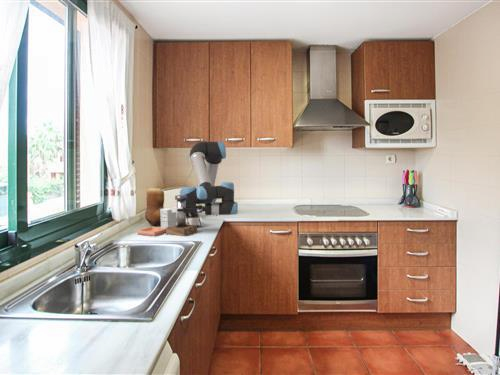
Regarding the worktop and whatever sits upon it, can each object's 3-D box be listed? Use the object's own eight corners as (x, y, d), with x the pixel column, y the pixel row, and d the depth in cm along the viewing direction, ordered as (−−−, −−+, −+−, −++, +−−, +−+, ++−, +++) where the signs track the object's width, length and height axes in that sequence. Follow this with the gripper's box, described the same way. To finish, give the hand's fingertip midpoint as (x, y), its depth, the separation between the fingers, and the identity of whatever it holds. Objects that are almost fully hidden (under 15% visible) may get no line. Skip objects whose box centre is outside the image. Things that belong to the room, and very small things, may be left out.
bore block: (179, 230, 225) (179, 223, 224) (197, 232, 219) (197, 225, 219) (166, 234, 213) (166, 227, 213) (184, 236, 207) (184, 229, 207)
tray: (152, 230, 224) (152, 226, 224) (168, 232, 218) (168, 228, 218) (137, 234, 212) (137, 230, 212) (154, 236, 207) (154, 232, 207)
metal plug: (180, 224, 220) (179, 195, 219) (190, 225, 217) (189, 195, 216) (173, 226, 214) (172, 196, 212) (183, 227, 211) (182, 196, 209)
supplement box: (169, 226, 237) (169, 207, 236) (177, 227, 232) (176, 208, 231) (160, 228, 231) (159, 208, 230) (167, 229, 226) (167, 209, 225)
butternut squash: (170, 224, 243) (169, 187, 241) (156, 228, 232) (154, 189, 230) (155, 222, 250) (154, 186, 248) (140, 226, 239) (139, 188, 237)
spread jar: (181, 227, 235) (181, 209, 234) (195, 224, 243) (195, 207, 242) (193, 229, 227) (192, 211, 226) (207, 227, 235) (207, 209, 234)
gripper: (211, 217, 207) (170, 218, 206) (212, 212, 225) (174, 213, 224) (211, 204, 207) (169, 205, 205) (212, 200, 225) (174, 201, 223)
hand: (172, 209), depth 214 cm, fingers closed on metal plug, 5 cm apart
